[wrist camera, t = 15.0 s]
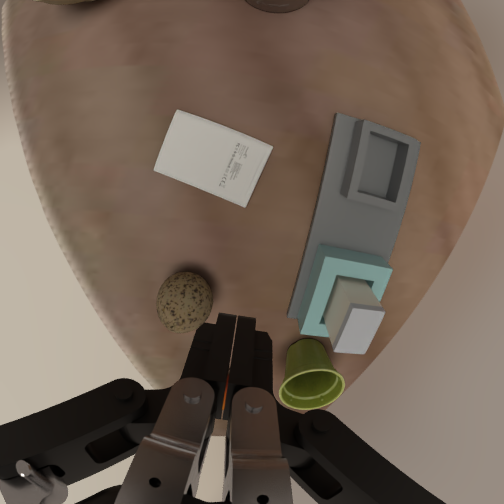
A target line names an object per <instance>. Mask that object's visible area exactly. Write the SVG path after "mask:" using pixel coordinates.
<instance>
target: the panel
mask: <svg viewBox="0 0 504 504" xmlns="http://www.w3.org/2000/svg"><path fill="white" fill-rule="evenodd" d="M420 144H421V142H418V141H417V139H414V138H412V137H410V136H407V135H405V134H402V133H400V132H397V131H395V130H392V129H390V128H387V127H384V126H381V125H379V124H376V123H373V122H370V121H367V120H360V119H357V118H354V117H350V116H347V115H344V114H340V113H335V117H334V122H333V127H332V132H331V137H330V142H329V147H328V152H327V157H326V162H325V166H324V171H323V175H322V180H321V184H320V189H319V193H318V197H317V202H316V206H315V210H314V214H313V218H312V222H311V226H310V230H309V234H308V238H307V242H306V246H305V250H304V254H303V257H302V261H301V265H300V269H299V272H298V276H297V279H296V283H295V287H294V290H293V294H292V297H291V301H290V304H289V307H288V311H287V318H294V319H298V323H299V329H300V334H305V335H313V336H322V337H329V334H328V331H327V327H326V324H325V321H324V318H323V312H324V310H325V307H326V304H327V301H328V298H329V296H330V293H331V290H332V287H333V284H334V281H335V278H336V275H341V276H347V277H353V278H358V279H364V280H365V281H366V282H367V284H368V285H369V287H370V288H371V290H372V292H373V293H374V295H375V296H376V298H377V299H378V301H379V302H380V300H381V298H382V295H383V293H384V291H385V288H386V286H387V283H388V281H389V278H390V276H391V273H392V270H393V269H392V268H391V267H390V265H389V264H388V261H389V259H390V256H391V253H392V250H393V247H394V244H395V241H396V238H397V235H398V232H399V229H400V225H401V222H402V219H403V215H404V212H405V208H406V205H407V201H408V197H409V194H410V190H411V186H412V182H413V177H414V173H415V169H416V164H417V159H418V155H419V150H420Z"/></svg>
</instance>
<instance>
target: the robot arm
mask: <svg viewBox="0 0 504 504" xmlns="http://www.w3.org/2000/svg"><path fill="white" fill-rule="evenodd" d="M246 1H247V2H248V3H249V4H250V5H252V6H254V7H256V8H258V9H261V10H264V11H268V12H277V13H280V12H289V11H294V10H296V9H299V8H301V7H302V6H304V5H305V4H306V3H307V2H308V1H309V0H246ZM236 317H237V315H231V314H225V313H219V314H218V318H217V322H216V324H210V323H203V324H202V325H201V326H200V327H199V328H198V329H197V330H196V333H195V336H194V339H193V342H192V345H191V348H190V351H189V354H188V357H187V360H186V363H185V366H184V369H183V372H182V376H181V378H180V379H179V381H177V382H176V383H175V384H174V385H173V386H171V387H169V388H166V389H159V390H144V388H143V387H142V386H141V385H140V384H139V383H138V382H136V381H134V380H132V379H127V378H126V379H125V378H121V379H117V380H114V381H112V382H110V383H107V384H105V385H102V386H100V387H98V388H96V389H93V390H91V391H89V392H86V393H84V394H82V395H79V396H77V397H74V398H72V399H70V400H67V401H65V402H62V403H60V404H58V405H55V406H52V407H50V408H47V409H45V410H42V411H39V412H37V413H34V414H31V415H29V416H26V417H23V418H21V419H18V420H15V421H12V422H9V423H6V424H3V425H0V490H1V493H2V495H3V497H4V499H5V502H6V504H62V503H63V502H64V501H65V500H66V498H67V496H68V488H67V485H70V484H73V483H75V482H77V481H80V480H82V479H84V478H87V477H89V476H91V475H93V474H96V473H98V472H100V471H102V470H104V469H106V468H108V467H110V466H112V465H114V464H116V463H118V462H120V461H122V460H124V459H126V458H128V457H130V456H132V455H134V454H135V456H134V459H133V461H132V463H131V465H130V468H129V470H128V472H127V475H126V477H125V479H124V482H123V484H122V485H117V486H113V487H110V488H107V489H104V490H102V491H100V492H98V493H96V494H94V495H92V496H90V497H88V498H86V499H84V500H82V501H80V502H77V503H75V504H293V499H292V489H291V481H290V476H291V477H292V478H293V479H294V480H295V481H296V482H297V483H298V484H299V485H300V486H301V487H302V488H303V489H304V490H305V491H306V492H307V493H308V494H309V495H310V496H311V497H312V498H313V499H314V500H315V501H316V502H317V503H318V504H446V503H444V502H443V501H442V500H440V499H438V498H437V497H436V496H434V495H433V494H431V493H430V492H429V491H427V490H426V489H424V488H423V487H422V486H420V485H419V484H418V483H416V482H415V481H414V480H412V479H411V478H409V477H408V476H407V475H406V474H404V473H403V472H402V471H400V470H399V469H398V468H397V467H395V466H394V465H393V464H391V463H390V462H389V461H388V460H386V459H385V458H384V457H382V456H381V455H380V454H379V453H378V452H376V451H375V450H374V449H373V448H372V447H370V446H369V445H368V444H367V443H366V442H365V441H363V440H362V439H361V438H360V437H359V436H357V435H356V434H355V433H354V432H353V431H352V430H350V429H349V428H348V427H347V426H346V425H345V424H343V423H342V422H341V421H340V420H339V419H338V418H337V417H336V416H335V415H333V414H332V413H330V412H328V411H325V410H320V409H315V410H310V411H308V412H306V413H305V414H301V413H298V412H295V411H292V410H289V409H287V408H285V407H283V406H282V405H281V404H280V403H279V402H278V401H277V400H276V399H275V397H274V394H273V364H272V340H271V338H270V337H269V335H268V333H267V332H262V331H255V326H256V318H251V317H245V316H238V321H237V327H236V334H235V340H234V347H233V353H232V360H231V367H230V373H229V380H228V387H227V393H226V400H225V407H224V413H223V420H228V424H227V432H226V437H225V461H224V485H223V498H222V502H205V501H202V500H200V499H197V498H195V496H196V492H197V488H198V483H199V478H200V474H201V470H202V466H203V463H204V459H205V455H206V452H207V448H208V444H209V441H210V437H211V434H212V432H213V428H214V422H215V418H216V419H221V414H222V408H223V401H224V395H225V389H226V382H227V376H228V369H229V363H230V357H231V350H232V344H233V337H234V330H235V323H236Z"/></svg>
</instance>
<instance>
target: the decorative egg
mask: <svg viewBox="0 0 504 504" xmlns="http://www.w3.org/2000/svg"><path fill="white" fill-rule="evenodd" d="M212 305H213V295H212V291H211V289H210V287H209V285H208V283H207V282H206V281H205V280H204V279H203V278H202V277H201V276H199V275H197V274H195V273H192V272H179V273H176V274H174V275H172V276H170V277H169V278H168V279H167V280H166V281H165V282H164V283H163V284H162V286H161V288H160V290H159V292H158V296H157V312H158V316H159V318H160V320H161V322H162V324H163V325H164V326H165V327H166V328H167V329H168V330H170V331H172V332H175V333H186V332H190V331H193V330H195V329H197V328H198V327H200V326H201V325H202V324H203V323H204V322H205V321H206V319H207V318H208V316H209V315H210V312H211V309H212Z"/></svg>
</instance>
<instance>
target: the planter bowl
mask: <svg viewBox="0 0 504 504" xmlns="http://www.w3.org/2000/svg"><path fill="white" fill-rule="evenodd" d="M34 1H38V2H44V3H48V4H55V5H67V4H75V3H80V2H84V1H95V0H34Z"/></svg>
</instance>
